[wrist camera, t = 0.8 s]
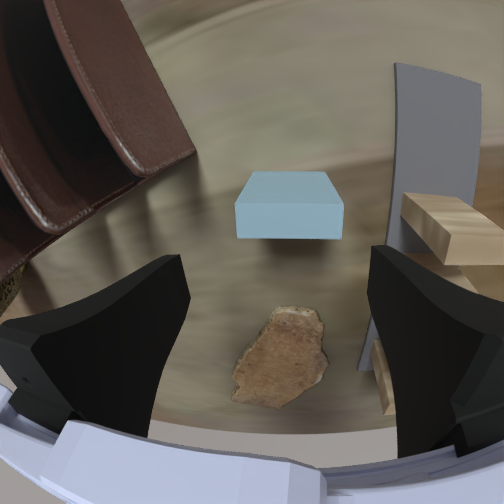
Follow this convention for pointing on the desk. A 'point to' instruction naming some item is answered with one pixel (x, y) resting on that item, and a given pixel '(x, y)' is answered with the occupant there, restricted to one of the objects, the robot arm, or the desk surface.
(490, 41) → the desk surface
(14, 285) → the cup
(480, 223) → the tile
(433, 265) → the tile
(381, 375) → the tile
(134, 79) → the letter holder
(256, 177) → the tile
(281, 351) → the pottery shard
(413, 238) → the felt runner
